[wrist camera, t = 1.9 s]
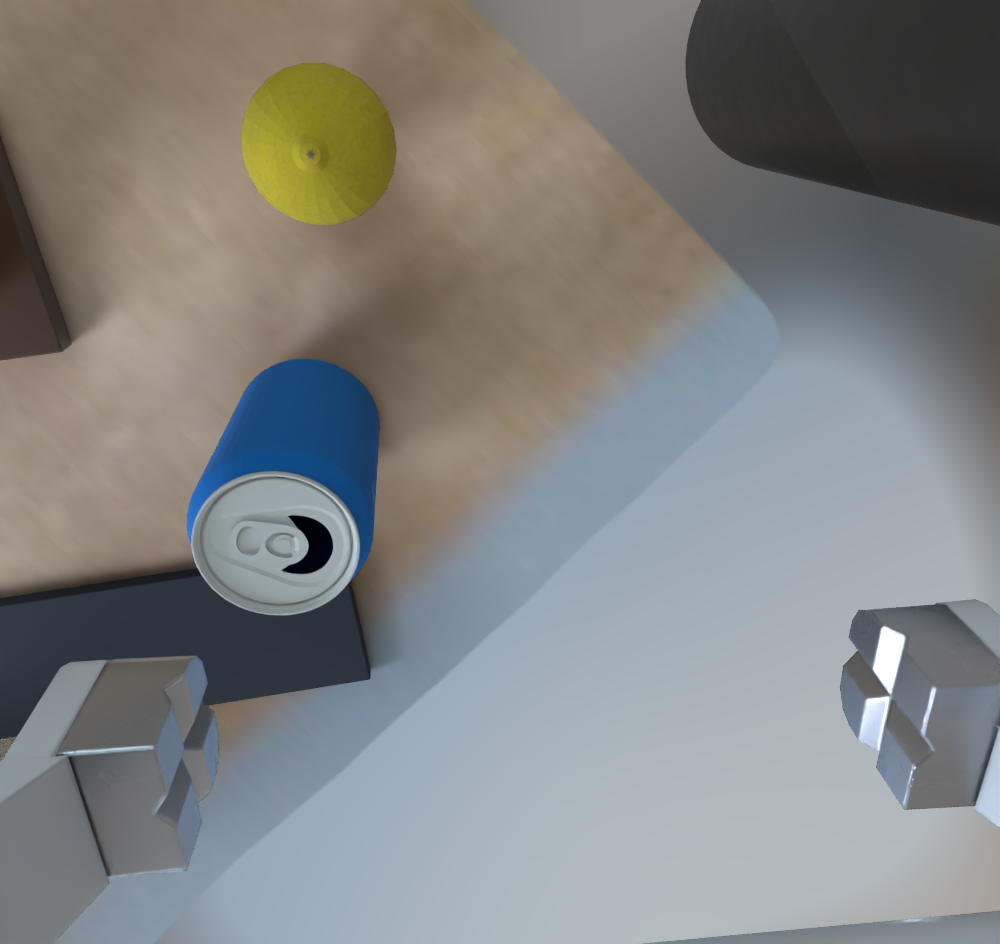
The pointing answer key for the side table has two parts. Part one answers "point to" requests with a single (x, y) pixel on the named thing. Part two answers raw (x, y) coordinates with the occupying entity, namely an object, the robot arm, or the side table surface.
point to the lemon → (318, 143)
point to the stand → (24, 282)
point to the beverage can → (289, 490)
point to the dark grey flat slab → (174, 639)
